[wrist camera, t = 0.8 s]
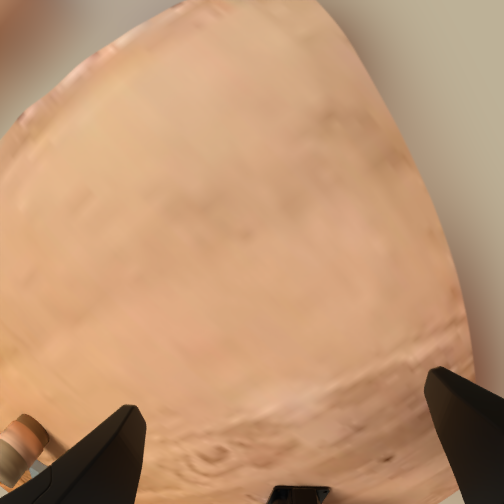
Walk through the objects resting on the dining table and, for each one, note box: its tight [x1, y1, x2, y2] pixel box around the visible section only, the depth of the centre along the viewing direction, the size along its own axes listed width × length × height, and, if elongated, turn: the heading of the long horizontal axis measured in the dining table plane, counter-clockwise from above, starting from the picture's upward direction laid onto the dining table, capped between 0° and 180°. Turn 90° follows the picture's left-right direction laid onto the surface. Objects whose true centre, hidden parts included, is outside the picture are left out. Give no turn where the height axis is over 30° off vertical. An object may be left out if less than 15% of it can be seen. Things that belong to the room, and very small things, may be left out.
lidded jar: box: [0, 414, 49, 488], centre depth 22 cm, size 5×5×10 cm
